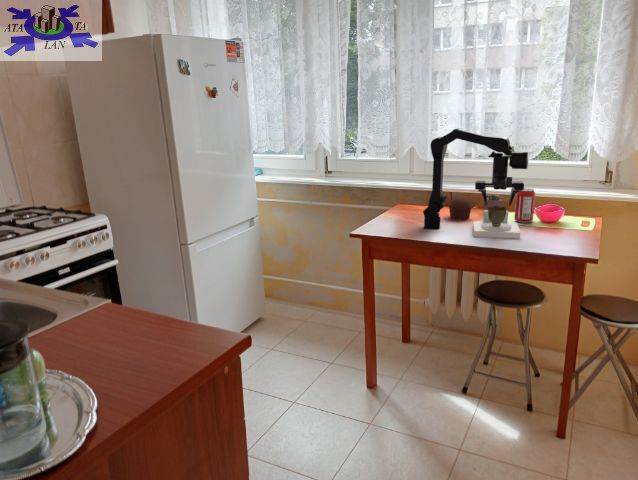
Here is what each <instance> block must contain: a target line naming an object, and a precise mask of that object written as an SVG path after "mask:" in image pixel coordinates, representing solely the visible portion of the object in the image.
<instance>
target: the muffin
mask: <svg viewBox="0 0 638 480" xmlns="http://www.w3.org/2000/svg"><path fill="white" fill-rule="evenodd" d="M447 206H448V209H449V217H450V219H452V220H453V219H454V220H455V221H467V220H470V216H471V211H472V208H473V206H474V204H473V202H471V200H470V199H469V198H467V197H465V196H456V197H453V198H452V199H451V200H450V201H449V202H448V203H447ZM466 219H467V220H466ZM454 220H453V221H454Z"/></svg>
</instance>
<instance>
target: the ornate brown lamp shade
mask: <svg viewBox="0 0 638 480" xmlns="http://www.w3.org/2000/svg"><path fill="white" fill-rule="evenodd" d="M507 209H508V208H507V207H505V205H504V206H502V205H501V206H500V208H499V207H498V206H497V207H496V206H494V208H493V206H492V207H490V206H489V207H488V217H489V220H490V221H491V222H492V226H495V227H499V226H500V225H501V222H503V221H504V219H505V215H506V211H508V210H507Z"/></svg>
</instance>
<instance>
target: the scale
mask: <svg viewBox="0 0 638 480" xmlns="http://www.w3.org/2000/svg"><path fill="white" fill-rule="evenodd" d="M482 216H483V217H482V221H478V220H477V221H476V220H475V221H473V222H472V224H473V226H472V227H473V237H476V238H477V237H478V238H479V237H480V238H496V239H497V238H501V239H504V238H505V239H521V230H520V228H519V225H518V222H509V221H508V220H509V211H508V210H506V215H505V219H504V221H503V222H501V225H500V226H499V227H495V226H492V222H491V221H490V220H489V217H488V210H484V209H483V215H482Z"/></svg>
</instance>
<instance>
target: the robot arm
mask: <svg viewBox="0 0 638 480" xmlns="http://www.w3.org/2000/svg"><path fill="white" fill-rule="evenodd" d="M455 140H461V141H465V142H468V143H469V142H470V143H473V144H478V145H482V146H485V147H486V148H488V149H491V151H492V150H493V151H492V152H491V153H490V154H489V155H488V156H487V158H493V159H492V161H493V162H492V173H491V174H492V175H491V182H486V180H476V181H475V182H474V184H475V185H474V190H477V191H478V192H480V193H481V194H482V198H483V201H484V206H485V205H486V206H487V199H488V197H486V195H487V189H486V188H493V189H494V190H496V191H497V190H503V191H504V190H507V188H508V189H509V188H510V190H511V191H510V196H509V200H508V201H509V202H508V206H509V207H511V205H512V203H513V201H514V198H516V193H517V192H520V190H524V188H525V184H524V182H523V181H522V180H513V176H508V171H509V170H508V168H509V167H510V168H511V169H512V170H528V168H529V166H528V165H529V152H528V151H515V149H514V148H513V147H512V146H511V141H510V139H509V138H508V137H507V136H501V135H499V136H497V135H487V134H486V135H485V134H482V133H477V132H473V131H469V130H465V129H461V128H458V127H457V128H454V129H452V131H450V132H449V133H447V134H445V135H443V136H439V137H435V138H433V139H432V141H431V142H430V151H431V155H432V160H433V162H432V185H431V187H432V189H431V193H430V197H429V200H428V206H427V207H426V208H425V209H423V211H422V212H423V213H422V214H423V216H424V219H423V220H424V221H423V223H424V224H423V229H425V230H426V229H427V230H439V228H440V227H441V216H440V212H441V210H442V209H443V208H444V207H445V205H446V204H447V194H444V192H443V180H444V179H443V178H444V162H445V161H444V160H445V156H446V153H447V149H448V145H449V144H451V143H453V142H454V141H455Z"/></svg>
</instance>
